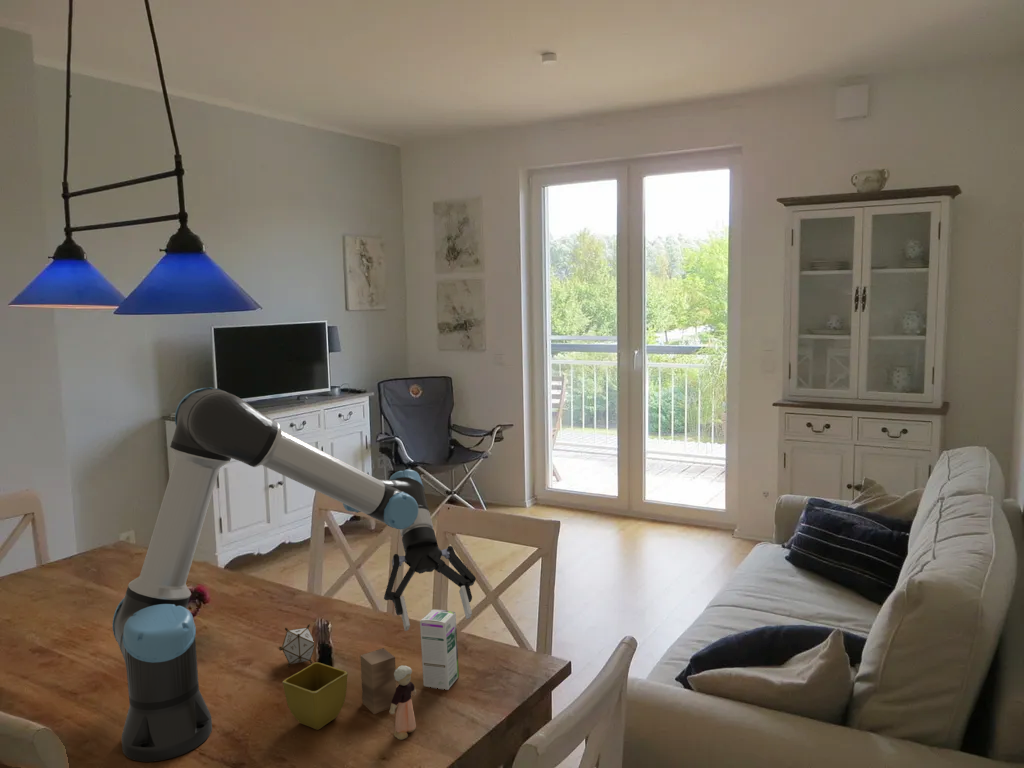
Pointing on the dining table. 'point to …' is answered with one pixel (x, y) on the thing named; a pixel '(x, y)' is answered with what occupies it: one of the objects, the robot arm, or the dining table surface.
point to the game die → (298, 645)
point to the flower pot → (316, 694)
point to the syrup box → (439, 649)
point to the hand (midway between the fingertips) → (438, 622)
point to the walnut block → (378, 680)
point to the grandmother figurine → (403, 703)
